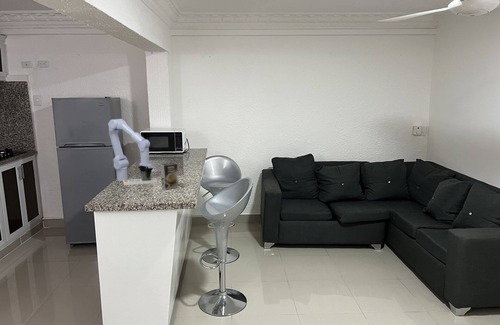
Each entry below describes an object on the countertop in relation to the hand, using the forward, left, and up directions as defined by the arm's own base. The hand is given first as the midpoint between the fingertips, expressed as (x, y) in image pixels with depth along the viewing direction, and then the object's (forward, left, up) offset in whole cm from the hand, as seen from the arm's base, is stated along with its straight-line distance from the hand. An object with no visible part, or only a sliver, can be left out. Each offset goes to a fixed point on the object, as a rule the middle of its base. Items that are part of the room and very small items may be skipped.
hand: (146, 176), depth 261 cm
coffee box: (+19, +13, -5) cm, 23 cm away
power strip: (0, -4, -5) cm, 6 cm away
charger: (0, 0, -3) cm, 3 cm away
